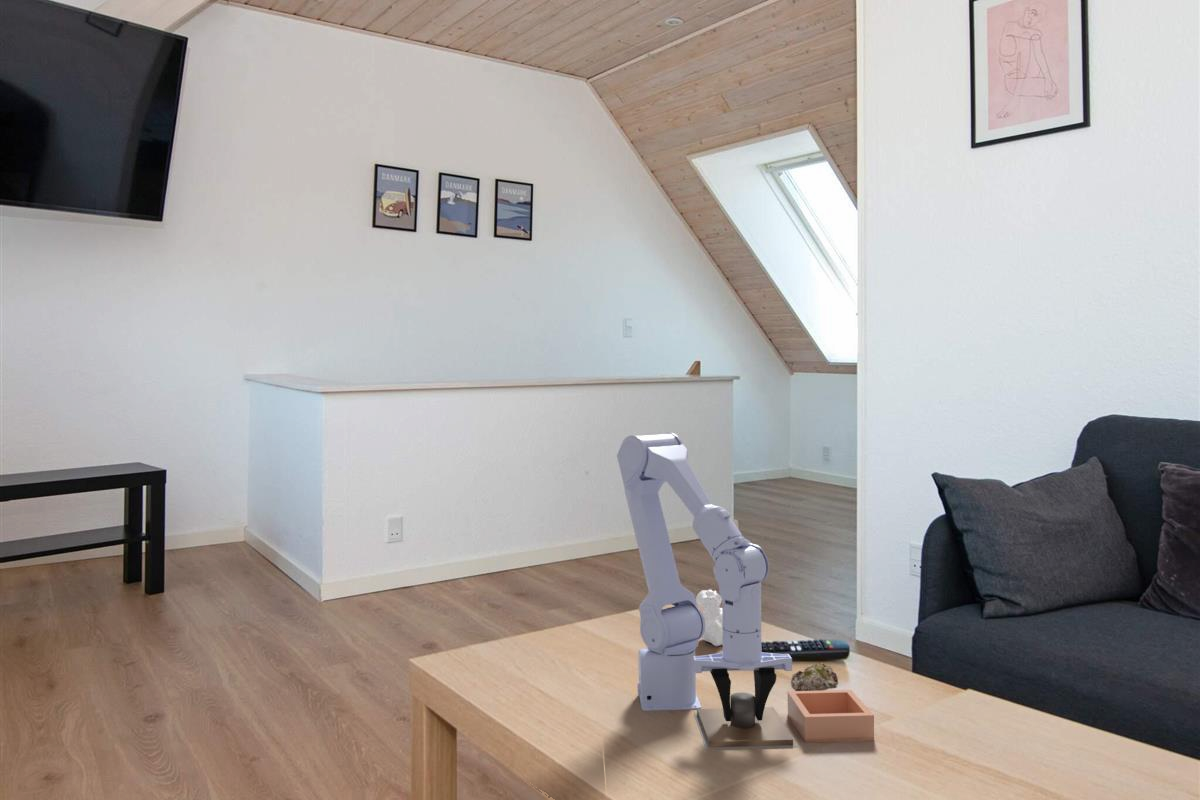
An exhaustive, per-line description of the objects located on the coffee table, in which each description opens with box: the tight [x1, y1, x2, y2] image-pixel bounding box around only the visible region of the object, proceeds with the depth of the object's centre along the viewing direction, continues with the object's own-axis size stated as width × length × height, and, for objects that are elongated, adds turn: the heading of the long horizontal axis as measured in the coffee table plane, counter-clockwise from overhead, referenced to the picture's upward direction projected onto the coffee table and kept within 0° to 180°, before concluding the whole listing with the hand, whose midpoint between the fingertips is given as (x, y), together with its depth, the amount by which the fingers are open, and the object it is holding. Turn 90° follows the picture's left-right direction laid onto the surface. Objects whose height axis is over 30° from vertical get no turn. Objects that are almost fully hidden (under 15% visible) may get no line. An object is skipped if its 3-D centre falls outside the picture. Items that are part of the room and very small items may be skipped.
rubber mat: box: [693, 712, 798, 750], centre depth 125 cm, size 13×13×1 cm
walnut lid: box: [696, 692, 794, 747], centre depth 125 cm, size 12×12×5 cm
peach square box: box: [787, 689, 875, 743], centre depth 125 cm, size 10×10×4 cm
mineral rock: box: [790, 662, 839, 691], centre depth 144 cm, size 11×4×8 cm
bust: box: [695, 588, 723, 647], centre depth 169 cm, size 12×8×11 cm
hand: (742, 718), depth 125 cm, fingers open, 4 cm apart
